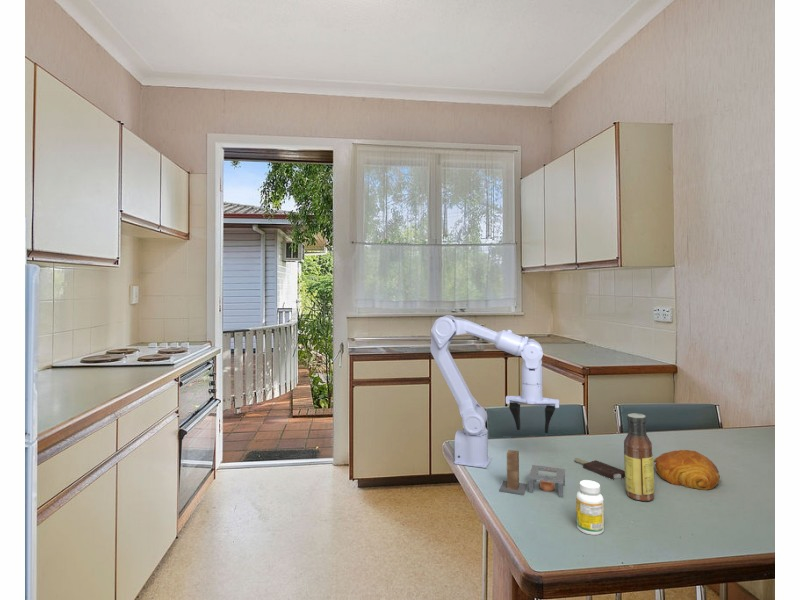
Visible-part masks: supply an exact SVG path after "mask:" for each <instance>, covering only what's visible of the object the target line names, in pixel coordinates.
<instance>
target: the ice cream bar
mask: <svg viewBox="0 0 800 600" xmlns="http://www.w3.org/2000/svg"><path fill="white" fill-rule="evenodd" d="M574 462H577V463H579V464H582V468H583V469H585V470H587V471H590V472H593V473H595V474H597V475H600V476H602V477H604V476H605V478H607V479H609V478H610V479H609V480H612V479H613V480H615V479H621V480H622V478H623V479H625V478H624V477H625V469H624V470H622V469H621V468H618V467H615V466H613V465H610V464H608V463H604V462H602V461H599V460H597V459H595V460H592V461H586V460H584V459H582V458H578V457H577V458H574ZM614 478H615V479H614ZM613 480H612V481H613Z"/></svg>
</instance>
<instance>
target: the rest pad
mask: <svg viewBox="0 0 800 600" xmlns="http://www.w3.org/2000/svg"><path fill="white" fill-rule="evenodd" d="M527 487H528V483H524V482H519V488H518V490H514V489H507V480H505V479H504V480H503V481H502V483H501V485H500V487H499V488H498V491H499V492H501V493H506V492H507V493H509V494H514V495H520V496H524V495H525V493H526V489H527Z"/></svg>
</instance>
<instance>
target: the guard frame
mask: <svg viewBox="0 0 800 600" xmlns="http://www.w3.org/2000/svg"><path fill="white" fill-rule="evenodd" d="M565 470H566V469H565V468H557V467H550V466H544V465H536V464H532V466H531V469H530V471H529V475H528V492H529V493H530V494H534V491H535V488H534V487H535V485H534V483H536V482H537V481H539V482H540V481H547V482H554V484H558V498H563V499H564V487H565V486H566V485H565V484H566V483H565V482H566V481H565V480H566V479H565V477H566V475H565ZM539 471H541V472H547V473H548V472H549V473H556V475H555V476H547V475H539Z"/></svg>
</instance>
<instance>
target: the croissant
mask: <svg viewBox="0 0 800 600" xmlns="http://www.w3.org/2000/svg"><path fill="white" fill-rule="evenodd" d="M653 463H655V467H654V468H655V471H656V473H657V474H658V476H659V477H660V478H661V479H663V480H664V481H666V482H668V483H669V484H670V485H675V486H678V487H679V486H683V487H685V488H691V489H695V490H696V489H698V490H703V491H704V490H705V491H707V490H712V489H714V488H715V487H716V486H717V484H718V483H719V481H720V474H719V473H720V472H719V469H718V467H717V465H716V464H715V463H714V462H713V461H712V460H710V459H709V458H708V457H707V456H705V455H703V454H701V453H699V452H698V451H696V450H690V449H679V450H672V451H669V452H664V453H662V454H660V455H659V456H657V457H655V459H653Z"/></svg>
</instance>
